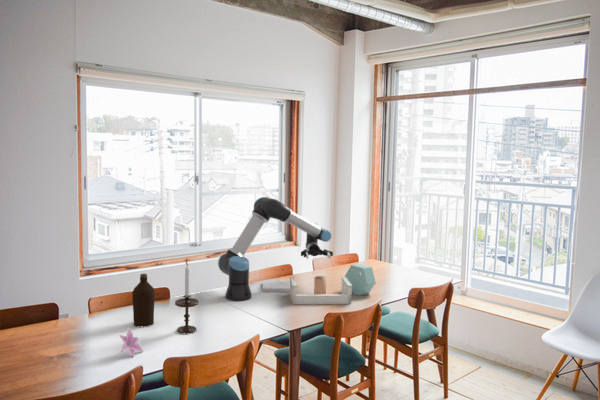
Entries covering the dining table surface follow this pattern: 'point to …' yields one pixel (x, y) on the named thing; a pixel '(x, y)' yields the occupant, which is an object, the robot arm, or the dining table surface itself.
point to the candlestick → (186, 305)
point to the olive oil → (143, 303)
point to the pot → (320, 285)
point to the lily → (130, 343)
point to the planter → (361, 278)
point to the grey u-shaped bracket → (322, 295)
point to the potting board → (276, 286)
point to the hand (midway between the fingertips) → (318, 256)
